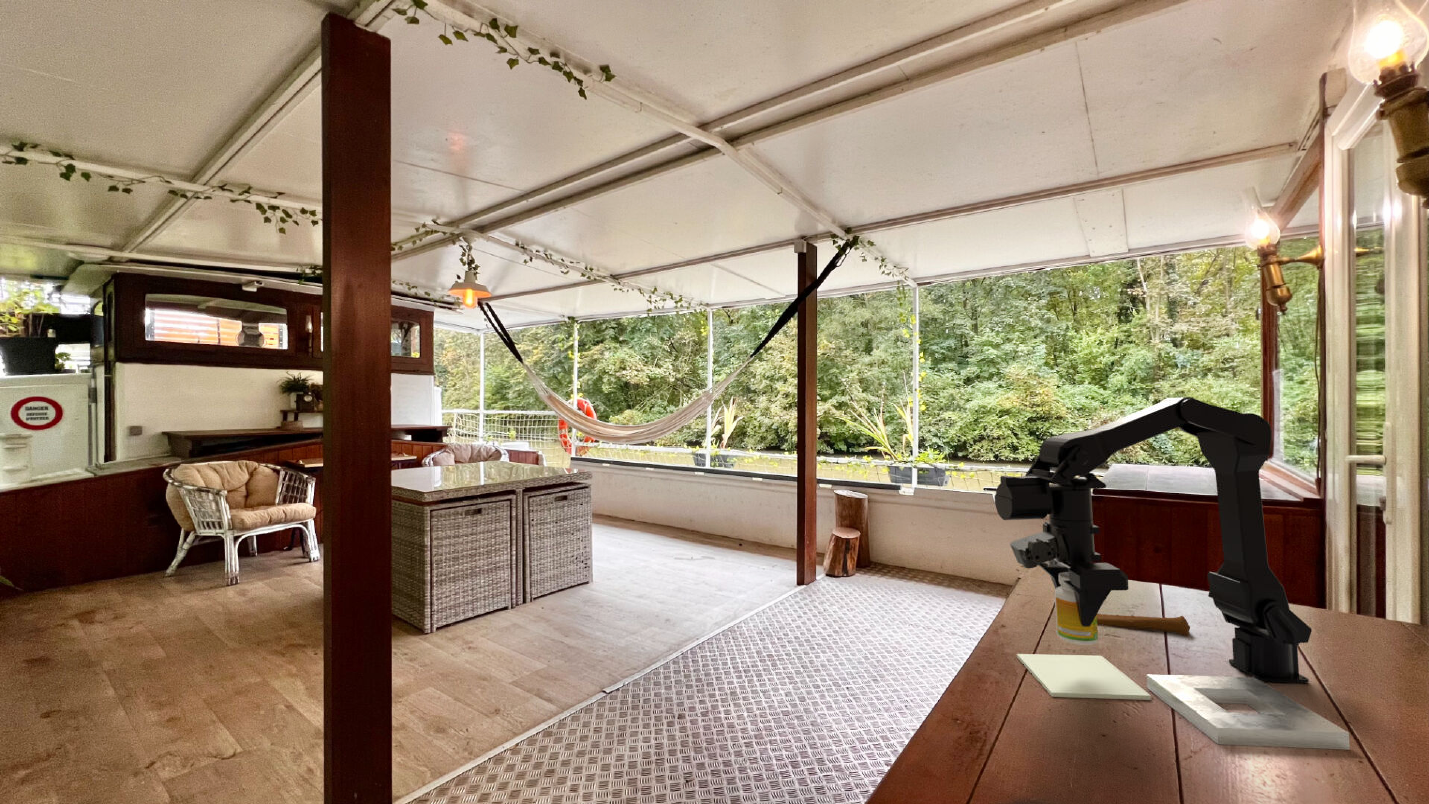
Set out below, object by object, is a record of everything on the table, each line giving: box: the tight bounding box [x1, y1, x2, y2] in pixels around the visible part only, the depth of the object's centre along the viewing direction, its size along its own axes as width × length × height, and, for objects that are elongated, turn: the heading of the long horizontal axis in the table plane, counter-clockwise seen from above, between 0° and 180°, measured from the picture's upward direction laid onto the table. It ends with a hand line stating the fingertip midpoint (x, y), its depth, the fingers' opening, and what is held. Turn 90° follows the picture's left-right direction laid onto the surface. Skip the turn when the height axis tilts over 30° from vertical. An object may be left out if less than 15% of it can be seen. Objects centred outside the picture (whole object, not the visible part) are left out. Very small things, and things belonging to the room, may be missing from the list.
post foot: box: [1146, 674, 1351, 751], centre depth 75 cm, size 14×14×2 cm
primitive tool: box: [1097, 613, 1191, 637], centre depth 106 cm, size 19×6×4 cm, turn 59°
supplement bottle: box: [1054, 572, 1099, 646], centre depth 87 cm, size 5×5×10 cm
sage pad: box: [1016, 653, 1152, 701], centre depth 87 cm, size 13×13×1 cm
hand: (1076, 619), depth 87 cm, fingers closed on supplement bottle, 5 cm apart
